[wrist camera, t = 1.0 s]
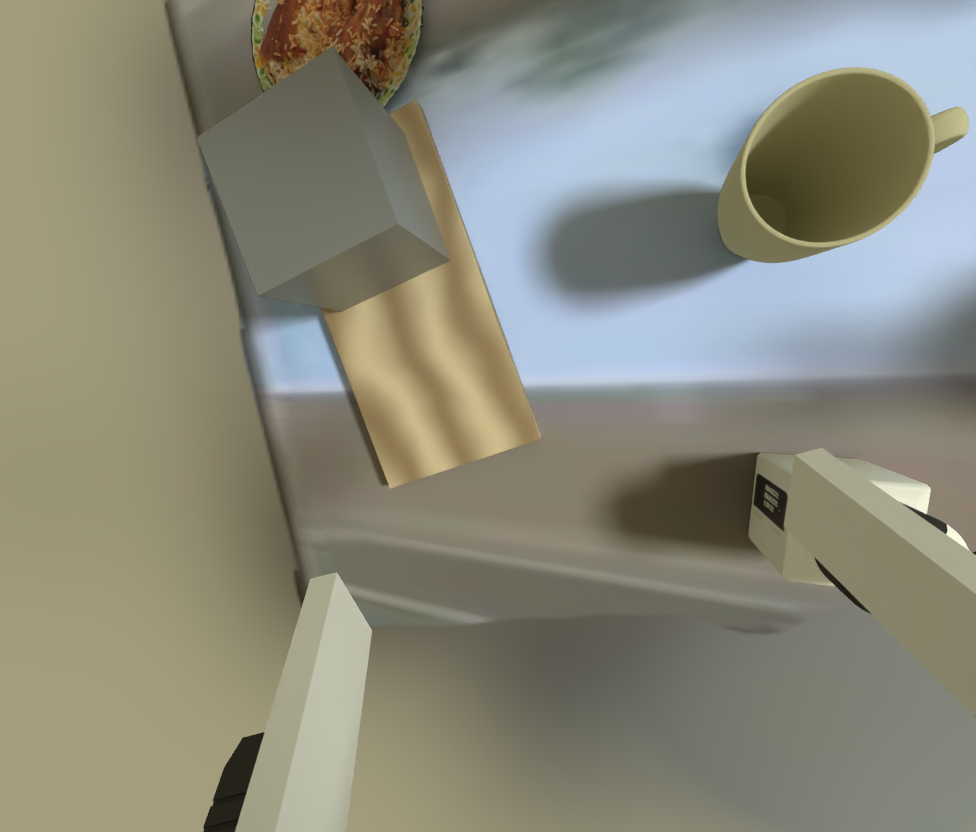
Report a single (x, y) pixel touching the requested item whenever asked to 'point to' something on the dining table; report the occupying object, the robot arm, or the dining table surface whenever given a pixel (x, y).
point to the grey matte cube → (322, 190)
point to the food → (339, 39)
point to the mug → (831, 164)
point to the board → (433, 350)
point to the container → (785, 547)
